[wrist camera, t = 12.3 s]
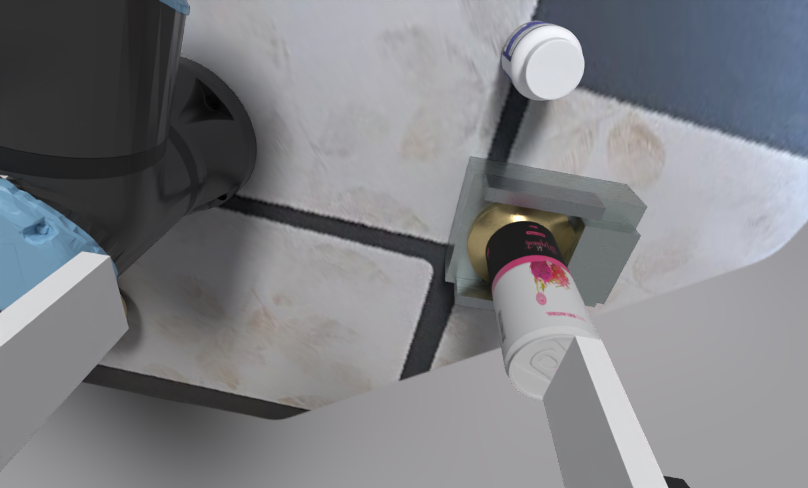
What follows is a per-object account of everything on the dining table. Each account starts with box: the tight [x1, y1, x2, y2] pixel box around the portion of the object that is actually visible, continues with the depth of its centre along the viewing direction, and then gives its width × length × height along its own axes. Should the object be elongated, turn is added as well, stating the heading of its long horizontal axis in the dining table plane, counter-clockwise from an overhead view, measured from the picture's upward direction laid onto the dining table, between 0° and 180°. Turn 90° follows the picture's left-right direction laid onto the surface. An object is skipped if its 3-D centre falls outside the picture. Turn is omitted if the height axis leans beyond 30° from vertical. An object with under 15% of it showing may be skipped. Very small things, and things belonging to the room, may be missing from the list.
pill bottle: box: [501, 21, 584, 101], centre depth 33 cm, size 5×5×9 cm
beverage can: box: [485, 221, 600, 401], centre depth 34 cm, size 6×6×15 cm
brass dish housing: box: [445, 156, 647, 311], centre depth 42 cm, size 16×13×8 cm
